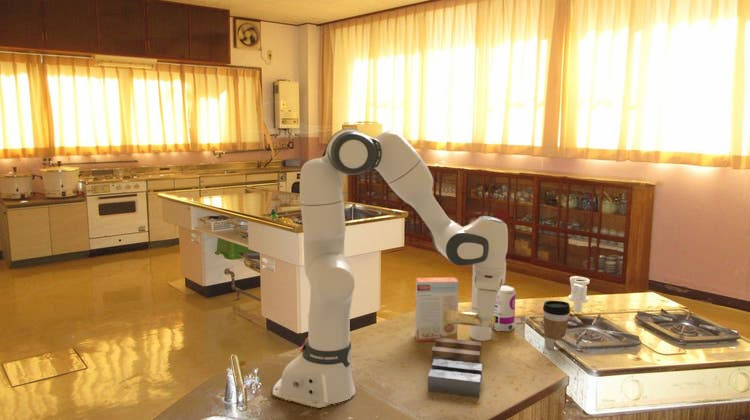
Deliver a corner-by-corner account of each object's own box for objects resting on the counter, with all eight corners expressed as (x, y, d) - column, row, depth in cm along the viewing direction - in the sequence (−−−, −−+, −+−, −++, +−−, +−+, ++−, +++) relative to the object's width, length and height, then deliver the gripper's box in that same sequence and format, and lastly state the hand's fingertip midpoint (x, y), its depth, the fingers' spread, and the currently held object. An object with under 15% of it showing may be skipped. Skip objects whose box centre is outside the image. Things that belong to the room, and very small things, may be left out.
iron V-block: (427, 391, 150) (428, 375, 149) (433, 372, 160) (433, 358, 160) (479, 397, 146) (480, 382, 146) (481, 378, 157) (482, 363, 156)
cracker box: (454, 334, 190) (456, 276, 186) (457, 341, 184) (459, 281, 180) (414, 334, 189) (415, 276, 186) (416, 341, 183) (417, 281, 180)
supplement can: (516, 326, 197) (518, 287, 194) (509, 334, 190) (511, 293, 187) (495, 322, 201) (497, 283, 199) (487, 329, 194) (488, 289, 192)
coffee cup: (564, 353, 174) (567, 309, 172) (537, 348, 179) (540, 304, 176) (570, 344, 181) (573, 301, 179) (544, 339, 186) (547, 297, 183)
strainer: (564, 311, 213) (566, 274, 211) (579, 309, 215) (582, 273, 213) (574, 317, 207) (577, 279, 204) (590, 316, 208) (593, 278, 206)
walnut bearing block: (431, 369, 163) (431, 350, 162) (435, 355, 173) (436, 337, 172) (478, 374, 160) (479, 355, 159) (480, 360, 169) (481, 342, 168)
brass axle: (443, 324, 153) (444, 312, 152) (445, 320, 156) (445, 308, 156) (494, 329, 149) (495, 317, 149) (494, 325, 153) (495, 313, 152)
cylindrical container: (491, 341, 183) (494, 270, 179) (470, 339, 185) (472, 268, 181) (491, 333, 190) (494, 264, 186) (470, 332, 192) (473, 263, 188)
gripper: (479, 264, 160) (476, 309, 162) (475, 283, 140) (471, 334, 143) (501, 266, 159) (498, 312, 161) (500, 286, 139) (496, 337, 141)
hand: (485, 323), depth 152 cm, fingers closed on brass axle, 4 cm apart
